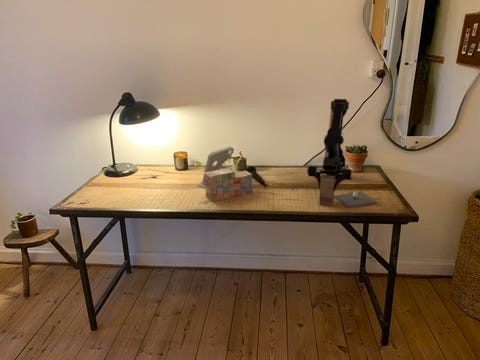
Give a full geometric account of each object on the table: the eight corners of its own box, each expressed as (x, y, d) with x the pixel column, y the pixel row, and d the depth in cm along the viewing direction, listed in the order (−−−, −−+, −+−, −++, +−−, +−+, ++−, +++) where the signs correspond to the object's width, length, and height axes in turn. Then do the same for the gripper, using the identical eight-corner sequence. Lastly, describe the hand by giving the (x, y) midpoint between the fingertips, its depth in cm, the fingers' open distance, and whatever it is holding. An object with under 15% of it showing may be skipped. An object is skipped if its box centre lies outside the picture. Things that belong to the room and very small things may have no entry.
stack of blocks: (246, 188, 194) (246, 164, 189) (252, 192, 189) (252, 168, 184) (205, 197, 185) (204, 172, 181) (210, 202, 180) (209, 176, 175)
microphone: (268, 191, 197) (251, 174, 213) (272, 181, 195) (254, 164, 211) (259, 190, 194) (242, 173, 211) (263, 180, 193) (246, 163, 209)
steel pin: (355, 197, 178) (356, 190, 177) (358, 199, 176) (358, 191, 175) (351, 198, 178) (352, 190, 176) (354, 199, 176) (354, 192, 175)
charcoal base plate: (360, 193, 185) (360, 191, 184) (376, 203, 174) (376, 201, 174) (333, 197, 181) (334, 195, 180) (348, 208, 170) (348, 206, 170)
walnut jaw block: (320, 199, 179) (322, 174, 175) (333, 201, 177) (335, 175, 173) (319, 205, 174) (320, 179, 170) (332, 206, 172) (333, 180, 168)
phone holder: (221, 175, 211) (220, 142, 204) (235, 180, 204) (234, 146, 198) (196, 185, 199) (194, 150, 192) (211, 190, 192) (209, 154, 186)
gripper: (308, 148, 173) (303, 180, 168) (353, 151, 168) (349, 185, 162) (310, 159, 183) (305, 191, 178) (352, 163, 178) (349, 195, 172)
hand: (326, 190), depth 172 cm, fingers closed on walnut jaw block, 6 cm apart
